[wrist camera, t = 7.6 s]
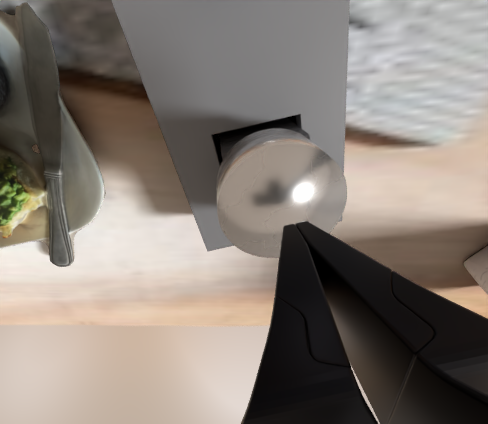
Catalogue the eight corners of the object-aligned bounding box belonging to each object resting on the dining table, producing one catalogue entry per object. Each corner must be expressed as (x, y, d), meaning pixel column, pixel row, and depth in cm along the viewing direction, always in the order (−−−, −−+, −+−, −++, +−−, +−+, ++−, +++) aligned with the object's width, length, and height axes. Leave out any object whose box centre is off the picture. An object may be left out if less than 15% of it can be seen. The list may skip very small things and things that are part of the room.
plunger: (295, 101, 14) (349, 128, 9) (301, 182, 17) (344, 243, 12) (205, 122, 15) (200, 163, 9) (226, 199, 18) (233, 268, 12)
